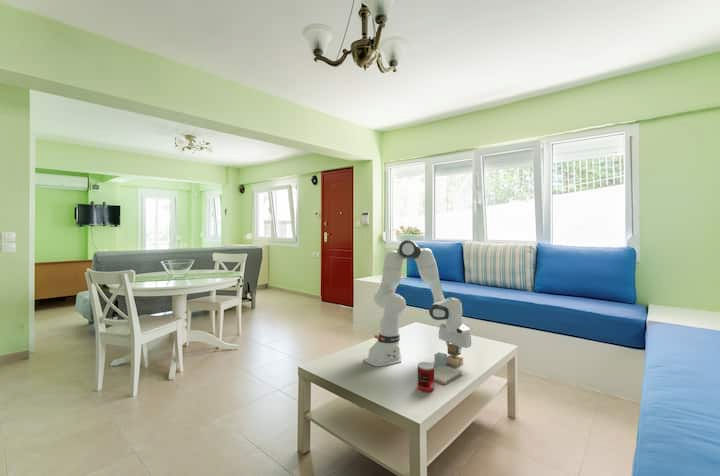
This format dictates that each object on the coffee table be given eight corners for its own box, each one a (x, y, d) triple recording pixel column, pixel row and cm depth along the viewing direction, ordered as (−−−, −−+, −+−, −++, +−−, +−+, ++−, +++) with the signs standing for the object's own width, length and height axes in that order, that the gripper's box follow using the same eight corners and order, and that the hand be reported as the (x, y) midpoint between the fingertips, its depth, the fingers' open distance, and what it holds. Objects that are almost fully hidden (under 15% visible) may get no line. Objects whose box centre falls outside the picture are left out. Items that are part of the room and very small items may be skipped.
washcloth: (463, 375, 165) (463, 369, 165) (445, 386, 153) (445, 380, 153) (443, 368, 174) (443, 363, 174) (424, 379, 161) (424, 373, 161)
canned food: (431, 384, 154) (431, 361, 154) (436, 392, 146) (436, 368, 146) (416, 384, 154) (416, 361, 154) (419, 392, 146) (419, 368, 146)
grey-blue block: (442, 367, 174) (442, 356, 174) (434, 365, 177) (434, 354, 177) (446, 364, 178) (446, 354, 178) (438, 362, 181) (438, 352, 181)
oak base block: (456, 367, 175) (456, 360, 175) (445, 363, 180) (445, 356, 180) (463, 363, 180) (463, 356, 180) (451, 360, 185) (451, 353, 185)
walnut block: (454, 356, 176) (454, 347, 176) (447, 353, 180) (447, 344, 180) (460, 354, 179) (460, 345, 179) (453, 351, 183) (453, 343, 183)
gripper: (436, 323, 186) (436, 347, 186) (465, 332, 170) (465, 358, 170) (443, 321, 190) (443, 345, 190) (473, 330, 173) (473, 355, 173)
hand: (454, 351), depth 180 cm, fingers closed on walnut block, 5 cm apart
